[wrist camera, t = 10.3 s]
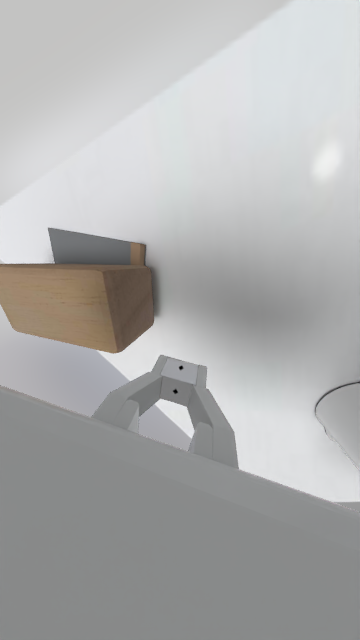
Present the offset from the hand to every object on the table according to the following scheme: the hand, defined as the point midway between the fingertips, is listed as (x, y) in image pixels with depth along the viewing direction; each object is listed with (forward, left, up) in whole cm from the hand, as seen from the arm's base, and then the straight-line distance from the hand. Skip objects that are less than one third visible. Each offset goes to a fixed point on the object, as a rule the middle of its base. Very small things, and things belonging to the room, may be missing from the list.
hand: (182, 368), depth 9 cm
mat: (+20, 0, -17) cm, 26 cm away
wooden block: (+8, +1, -10) cm, 12 cm away
